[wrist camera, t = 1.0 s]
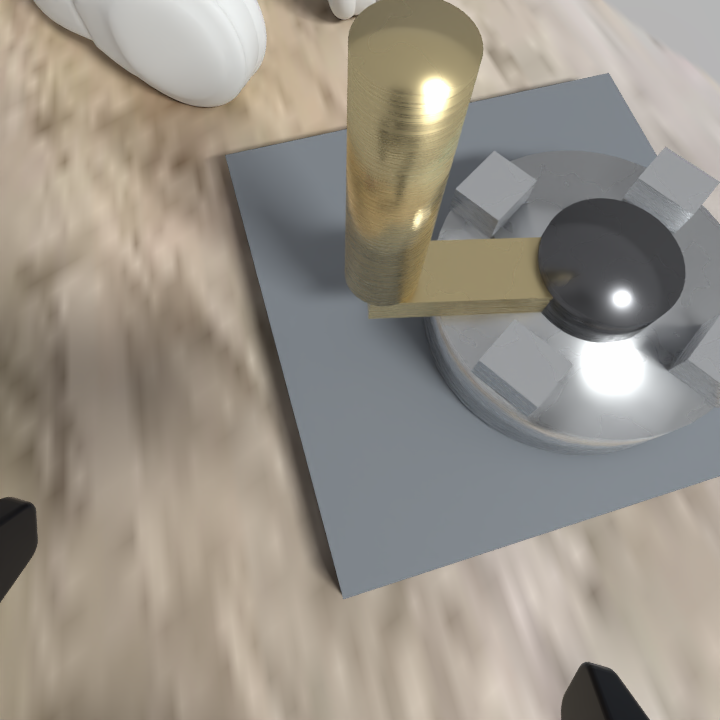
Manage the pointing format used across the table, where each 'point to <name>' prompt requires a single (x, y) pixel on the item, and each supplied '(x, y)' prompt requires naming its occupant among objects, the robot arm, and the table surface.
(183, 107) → the table surface
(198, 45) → the headphones
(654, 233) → the brass lever assembly
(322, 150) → the housing plate
